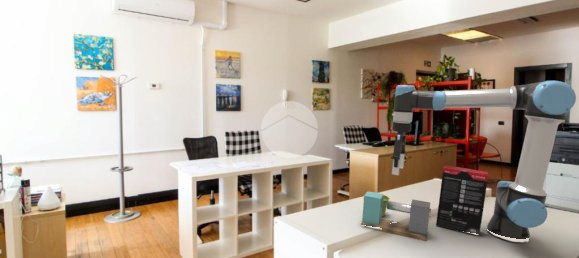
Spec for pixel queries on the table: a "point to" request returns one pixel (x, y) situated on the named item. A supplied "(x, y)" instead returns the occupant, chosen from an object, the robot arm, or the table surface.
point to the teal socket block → (372, 208)
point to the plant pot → (384, 204)
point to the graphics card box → (462, 199)
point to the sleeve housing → (419, 217)
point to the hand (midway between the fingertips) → (397, 171)
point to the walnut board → (396, 229)
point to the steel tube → (400, 207)
